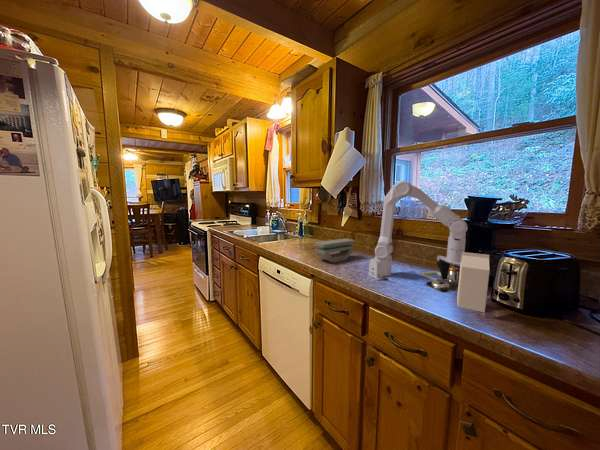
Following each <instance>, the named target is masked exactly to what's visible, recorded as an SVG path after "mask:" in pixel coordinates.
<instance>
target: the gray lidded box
mask: <svg viewBox="0 0 600 450" xmlns="http://www.w3.org/2000/svg"><path fill="white" fill-rule="evenodd" d="M355 243H356V240H355V239H351V238H338V239H331V240H330V239H329V240H322V241H321V240H320V241H315V242H313V244H314V246H316V247H315V253H316V254H317V255H318V256H319V257H320V258H321V259H322V260H323V261H326V262H329V263H337V262H342V261H347V260H348V259H349V257H350V255H351V254H352V253H353V251H354V249H355V246H354V245H351V244H355Z"/></svg>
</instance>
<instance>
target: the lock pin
mask: <svg viewBox="0 0 600 450" xmlns="http://www.w3.org/2000/svg"><path fill="white" fill-rule="evenodd" d="M458 268H459V267H458V266H456V267H455V266H450V267H449V270H448V275H449V276H448V280H447V281H448V284H451V285H452V286H451V287H457V282H458V283H459V272H458Z"/></svg>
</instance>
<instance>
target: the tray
mask: <svg viewBox="0 0 600 450" xmlns="http://www.w3.org/2000/svg"><path fill="white" fill-rule="evenodd" d="M431 275H439V276H441V272H440V271H436V270H435V271H434V270H433V271H426V272H420V276H422V277H424V278H426V279H429V280H431V281H441V282H443V281H448V277H447V279H444V280H443V279H442V277H434V276H431ZM448 276H449V274H448Z"/></svg>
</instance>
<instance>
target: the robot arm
mask: <svg viewBox="0 0 600 450" xmlns="http://www.w3.org/2000/svg"><path fill="white" fill-rule="evenodd" d="M406 197H409V198H414V199H417V200H418V201H419V202H421V203H422V204H424V205H425V206H426V207H427V208H428V209H430V210H431V211H432V216H433V217H434V218H435V219H436V220H438V221H439V222H440V223H441V224H442V225H443V226H445V227H448V230H449V236H448V238H447V249H446V256H444V255H437V257H436V265H437V268H438V269H439V272H440V273H441V275H440V276H441V277H440V278H442V279H443V280H442V281H445V280H444V279H447V277H448V275H449V267H451V265H453V266H456V267H457V268H458V275H459V274H460V264H461V257H462V252H466V250H465V249H466V239H467V238H466V237H467V236H466V235H467V234H466V232H467V231H468V228H469V227H468V224H467V222H466V221H465V220H464V219H463V218H461V215H458V214H456V213H455V212H453V211H452V210H451V207H450V206H449V205H447V206H446V205H444V204H438V203H437V202H436V201H434V199H432V198H431V197H430V196H429V195H428V194H426V193H425V192H424V191H423V190H422V189H420V188H419V187H417V186H416V185H413V184H412V183H411V182H409V181H407V180H400V181H397V182H396V183H395V184H394V185H392V186H391V188H390V190H389V191H388V192H387V194H386V195H385V196H384V199H383V206H382V207H383V208H382V215H381V225H380V234H379V238H378V241H377V245H376V247H375V249H374V256H375V257H374V258H371V259H370V260H369V263H368V273H367V275H368V276H369V277H372V278H374V279H375V280H378V281H381V280H388V277H389V276H391V275H392V263H393V257H392V255H391V254H392V253H393V251H394V246H393V238H392V236H393V235H392V234H393V226H394V220H395V219H394V218H395V209H396V203H397V202H399V201H400V200H402V199H404V198H406Z"/></svg>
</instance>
